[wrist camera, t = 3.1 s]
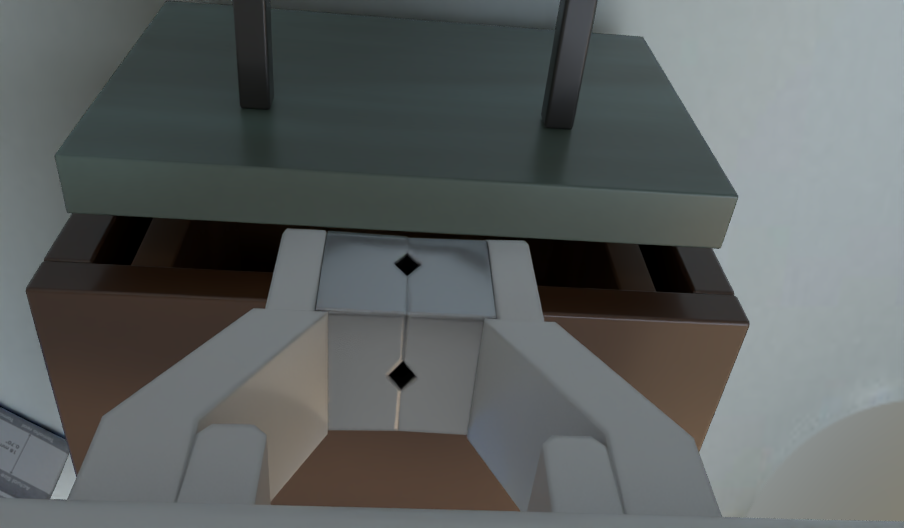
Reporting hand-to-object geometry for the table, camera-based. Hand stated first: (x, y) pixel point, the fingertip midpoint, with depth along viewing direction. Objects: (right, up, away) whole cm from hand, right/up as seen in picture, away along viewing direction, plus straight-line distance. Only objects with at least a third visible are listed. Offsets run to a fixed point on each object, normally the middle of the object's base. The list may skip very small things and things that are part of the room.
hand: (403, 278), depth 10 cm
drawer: (-1, +2, +13) cm, 14 cm away
